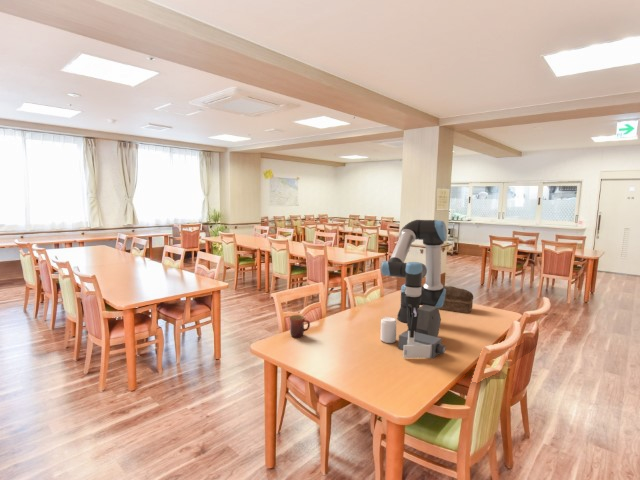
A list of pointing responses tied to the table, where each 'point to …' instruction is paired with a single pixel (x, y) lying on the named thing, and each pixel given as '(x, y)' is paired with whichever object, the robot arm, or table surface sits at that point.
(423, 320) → the grey bevelled block
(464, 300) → the bread
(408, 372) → the table surface
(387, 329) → the beverage can
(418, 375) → the table surface
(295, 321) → the mug
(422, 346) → the door
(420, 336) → the camcorder
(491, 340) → the table surface
